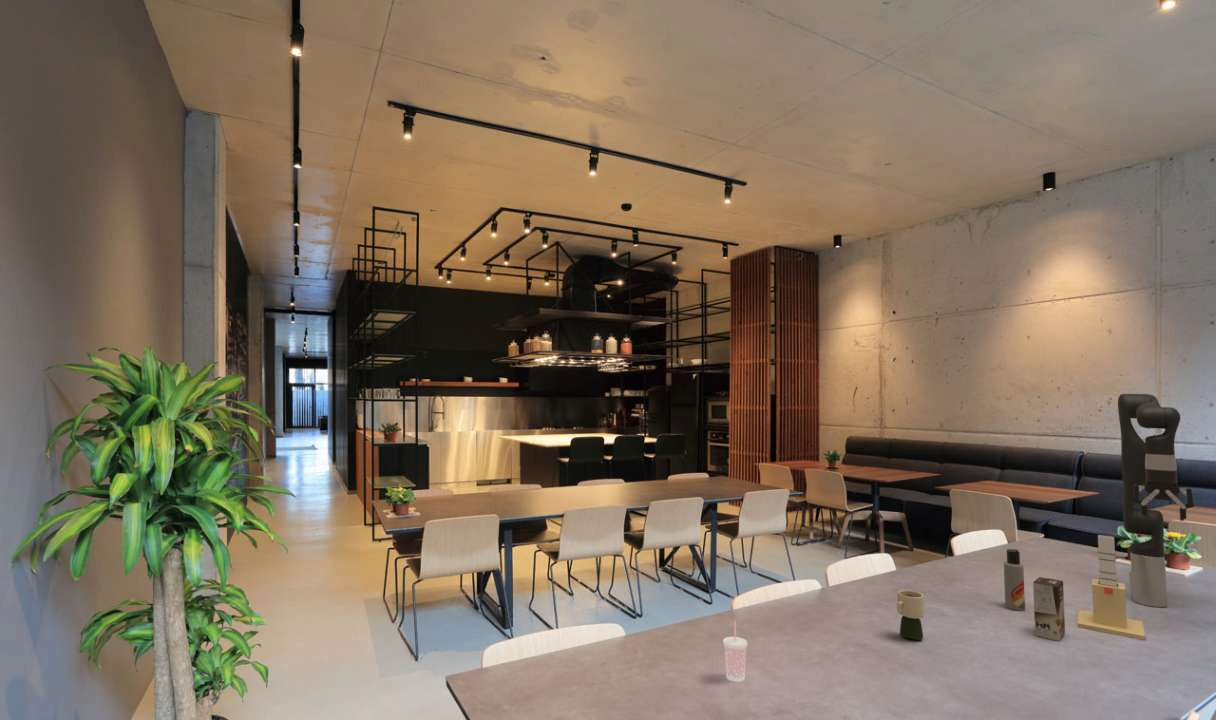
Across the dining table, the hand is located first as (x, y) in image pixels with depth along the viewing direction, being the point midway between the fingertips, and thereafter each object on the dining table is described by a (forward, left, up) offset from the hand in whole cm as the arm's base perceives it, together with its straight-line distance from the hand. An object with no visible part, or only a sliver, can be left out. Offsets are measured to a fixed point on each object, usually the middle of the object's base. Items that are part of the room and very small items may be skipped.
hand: (1163, 518), depth 192 cm
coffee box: (+12, -43, -34) cm, 56 cm away
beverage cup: (+53, -143, -34) cm, 156 cm away
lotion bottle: (-12, -40, -34) cm, 54 cm away
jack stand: (+2, -19, -34) cm, 39 cm away
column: (+2, -19, -26) cm, 32 cm away
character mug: (+20, -87, -34) cm, 96 cm away
